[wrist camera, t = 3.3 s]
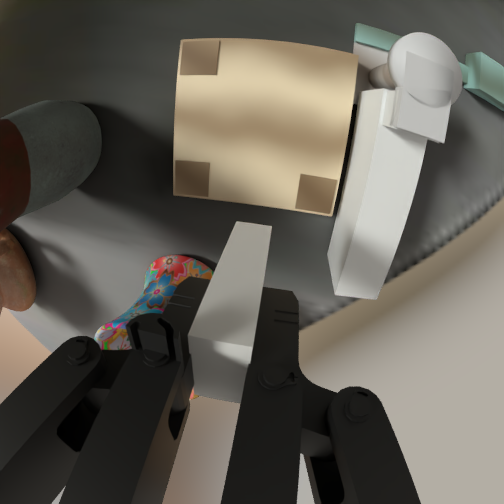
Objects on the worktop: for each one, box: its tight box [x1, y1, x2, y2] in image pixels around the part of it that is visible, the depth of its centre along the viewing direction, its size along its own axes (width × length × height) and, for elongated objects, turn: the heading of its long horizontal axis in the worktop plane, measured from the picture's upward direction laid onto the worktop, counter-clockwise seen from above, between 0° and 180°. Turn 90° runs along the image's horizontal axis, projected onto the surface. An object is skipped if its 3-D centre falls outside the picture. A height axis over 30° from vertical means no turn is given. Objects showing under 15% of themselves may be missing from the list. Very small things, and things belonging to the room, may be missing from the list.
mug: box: [94, 255, 214, 400], centre depth 23 cm, size 12×9×11 cm
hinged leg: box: [327, 32, 462, 300], centre depth 15 cm, size 17×4×8 cm, turn 175°
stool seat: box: [173, 23, 504, 217], centre depth 14 cm, size 16×28×7 cm, turn 85°
